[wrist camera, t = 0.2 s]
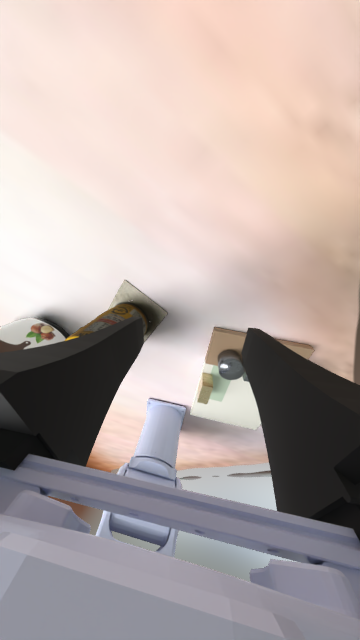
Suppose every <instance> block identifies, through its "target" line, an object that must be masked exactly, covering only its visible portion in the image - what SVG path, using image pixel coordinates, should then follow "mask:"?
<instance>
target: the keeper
mask: <svg viewBox="0 0 360 640" xmlns="http://www.w3.org/2000/svg"><path fill="white" fill-rule="evenodd" d="M212 390H213V376H212V374H208V373H203V372H202V376H201V379H200V383H199V386H198V394H197V402H199V403H203V404H207V403H208V401H209V398H210V395H211V392H212Z"/></svg>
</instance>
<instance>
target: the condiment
mask: <svg viewBox="0 0 360 640" xmlns="http://www.w3.org/2000/svg"><path fill="white" fill-rule="evenodd" d="M131 300H133V301H131ZM129 301H130V302H129ZM167 314H168V313H167V312H166V311H164V310H163V309H162V308H161V307H160V306H158V305H157V304H156V303H154V302H153V301H152V300H151V299H149V298H148V297H147V296H145V295H144V294H143V293H142V292H140V291H139V290H137V289H136V288H135V287H134V286H132V285H131V284H129V283H128V282H127V281H125V280H124V282H123V283H122V285H121V287H120V289H119V290H118V292H117V294H116V296H115V298H114V300H113V302H112V303H111V305H110V307H109V309H108V311H106V312H104V313H102V314H101V315H99V316H98V317H97V318H96V319H94V320H92V321H91V322H90V323H88V324H87V325H85V326H84V327H81V328H80V329H79V330H78V331H76V332H75V333H73V334H72V335H70V336H69V337H68V338H66V339H65V341H66V340H70V339H74V338H77V337H80V336H84V335H87V334H90V333H93V332H95V331H98V330H100V329H103V328H106V327H108V326H111V325H113V324H115V323H118V322H120V321H123V320H125V319H127V318H130V317H142V322H143V333H144V342H145V341H146V339H147V338H148V337H149V336H150V334H151V333H152V332H153V331H154V330H155V329H156V327H157V326H158V325H159V324H160V323H161V321H162V320H163V319H164V318H165V316H166V315H167ZM149 321H150V322H149Z"/></svg>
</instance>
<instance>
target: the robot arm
mask: <svg viewBox="0 0 360 640" xmlns="http://www.w3.org/2000/svg"><path fill="white" fill-rule="evenodd" d="M143 343H144V333H143V322H142V317H130V318H127V319H125V320H123V321H120V322H118V323H115V324H113V325H111V326H108V327H106V328H103V329H100V330H98V331H95V332H93V333H90V334H87V335H84V336H80V337H77V338H74V339H70V340H66V341H62V342H58V343H54V344H49V345H45V346H40V347H34V348H29V349H23V350H17V351H10V352H2V353H0V640H360V385H357V384H356V383H353V382H351V381H349V380H347V379H345V378H342V377H340V376H338V375H336V374H334V373H332V372H330V371H328V370H326V369H324V368H322V367H320V366H318V365H317V364H315V363H313V362H311V361H309V360H307V359H306V358H304V357H302V356H301V355H299V354H297V353H296V352H294V351H292V350H291V349H289V348H288V347H286V346H285V345H283V344H282V343H280V342H279V341H277V340H276V339H274V338H273V337H271V336H270V335H268V334H267V333H265V332H263V331H262V330H260V329H256V328H248V331H247V335H246V338H245V342H244V345H243V348H242V352H241V354H242V360H243V365H244V368H245V371H246V374H247V377H248V380H249V383H250V386H251V389H252V392H253V394H254V397H255V400H256V404H257V407H258V411H259V415H260V420H261V424H262V429H263V433H264V438H265V443H266V448H267V453H268V458H269V464H270V469H271V475H272V481H273V487H274V493H275V499H276V506H277V511H274V510H269V509H265V508H261V507H256V506H252V505H247V504H243V503H239V502H235V501H231V500H226V499H222V498H217V497H213V496H209V495H205V494H200V493H196V492H191V491H187V490H183V489H182V484H181V482H180V479H179V478H177V477H176V472H177V470H176V469H175V464H176V456H177V449H178V441H179V434H180V430H181V426H182V423H183V419H184V415H185V411H186V407H184V406H180V405H176V404H171V403H167V402H163V401H158V400H154V399H148V401H147V417H146V420H145V423H144V426H143V429H142V432H141V435H140V438H139V441H138V444H137V447H136V450H135V453H134V456H133V457H131V460H130V463H125V464H124V465H123V466H121V467H120V469H119V471H118V473H117V474H114V473H110V472H105V471H101V470H97V469H92V468H88V467H86V464H87V461H88V458H89V456H90V453H91V451H92V448H93V446H94V443H95V440H96V438H97V435H98V433H99V431H100V428H101V426H102V423H103V421H104V419H105V416H106V414H107V412H108V410H109V407H110V405H111V403H112V401H113V399H114V396H115V394H116V392H117V390H118V388H119V386H120V384H121V382H122V381H123V379H124V377H125V376H126V374H127V372H128V371H129V369H130V367H131V366H132V364H133V363H134V361H135V359H136V358H137V356H138V354H139V353H140V350H141V348H142V346H143ZM47 495H48V496H52V497H55V498H59V499H63V500H67V501H71V502H74V503H78V504H82V505H86V506H89V507H93V508H97V509H101V510H104V511H103V515H102V519H101V522H100V525H99V528H98V530H97V533H96V536H95V535H91V534H89V532H90V530H91V528H90V525H89V524H88V523H86V522H85V521H83V520H82V519H80V518H79V517H78V516H77V515H76V514H75V513H73V510H72V509H71V507H70V506H68V505H66V504H63V503H61V502H58V501H56V500H54V499H51V498H49V497H48V496H47ZM178 530H181V531H184V532H188V533H192V534H195V535H199V536H203V537H207V538H210V539H214V540H218V541H222V542H225V543H229V544H233V545H237V546H241V547H245V548H248V549H252V550H256V551H259V552H263V553H267V554H271V555H275V556H278V557H282V558H286V559H290V560H293V561H297V562H290V561H283V560H275V559H271V560H270V562H269V564H268V566H266V567H264V568H259V569H251V571H250V580H251V582H249V581H245V580H242V579H240V578H237V577H233V576H230V575H227V574H224V573H221V572H218V571H215V570H212V569H209V568H206V567H203V566H200V565H196V564H193V563H190V562H186V561H183V560H180V559H177V558H174V555H175V547H176V539H177V535H178ZM111 531H115V532H118V533H121V534H124V535H127V536H131V537H134V538H137V539H140V540H144V541H147V542H150V543H153V544H157V545H160V546H161V547H160V548H159V549H158V550H157V551H150V550H147V549H144V548H141V547H137V546H134V545H131V544H128V543H125V542H121V541H118V540H116V539H115V538H113V536H112V532H111ZM298 562H301V563H298Z"/></svg>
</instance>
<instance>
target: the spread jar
mask: <svg viewBox="0 0 360 640" xmlns="http://www.w3.org/2000/svg"><path fill="white" fill-rule="evenodd" d="M68 337H69V335H68V334H67V333H66V332H65V331H64V330H63V329H62V328H61V327H59V326H58V325H56V324H54V323H52V322H50V321H47V320H44V319H39V318H25V319H20V320H17V321H14V322H11V323H9V324H6V325H4V326H0V353H2V352H10V351H17V350H23V349H29V348H34V347H40V346H45V345H49V344H54V343H58V342H62V341H65V339H66V338H68Z"/></svg>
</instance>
